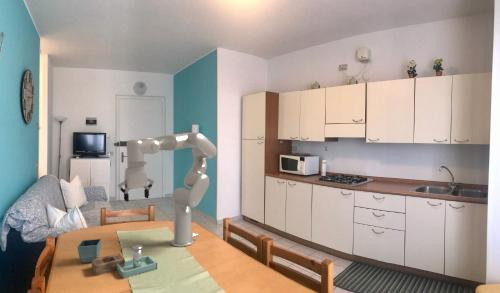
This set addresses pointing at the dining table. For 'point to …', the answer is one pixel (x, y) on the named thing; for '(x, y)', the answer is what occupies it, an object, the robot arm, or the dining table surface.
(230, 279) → the dining table surface
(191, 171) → the robot arm
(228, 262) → the dining table surface
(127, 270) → the tray
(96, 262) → the socket block
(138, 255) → the pin
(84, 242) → the flower pot
